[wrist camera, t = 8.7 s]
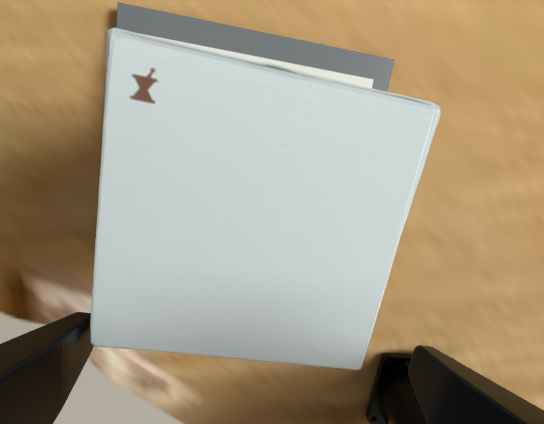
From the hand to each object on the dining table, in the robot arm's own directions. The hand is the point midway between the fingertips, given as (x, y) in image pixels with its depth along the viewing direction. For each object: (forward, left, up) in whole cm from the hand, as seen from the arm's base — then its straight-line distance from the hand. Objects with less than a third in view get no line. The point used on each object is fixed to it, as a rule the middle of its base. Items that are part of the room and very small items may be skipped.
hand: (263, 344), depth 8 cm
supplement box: (+3, +1, -12) cm, 13 cm away
